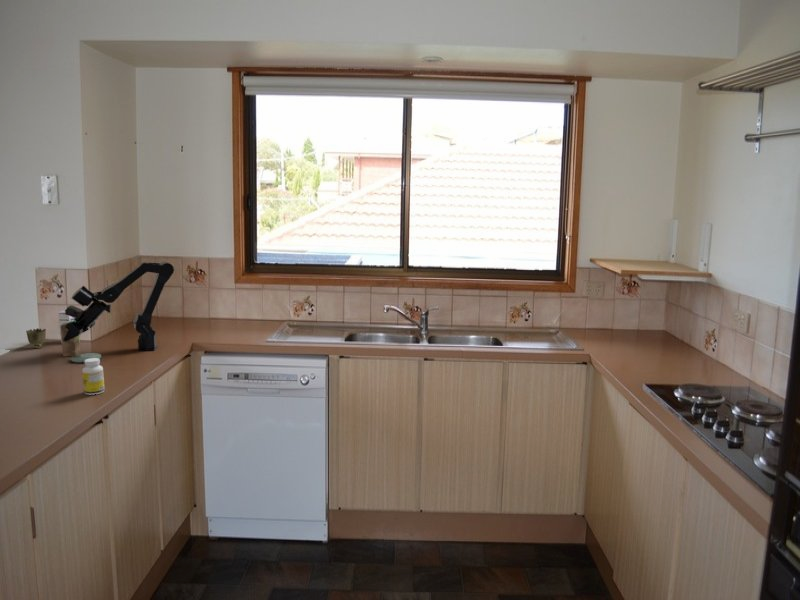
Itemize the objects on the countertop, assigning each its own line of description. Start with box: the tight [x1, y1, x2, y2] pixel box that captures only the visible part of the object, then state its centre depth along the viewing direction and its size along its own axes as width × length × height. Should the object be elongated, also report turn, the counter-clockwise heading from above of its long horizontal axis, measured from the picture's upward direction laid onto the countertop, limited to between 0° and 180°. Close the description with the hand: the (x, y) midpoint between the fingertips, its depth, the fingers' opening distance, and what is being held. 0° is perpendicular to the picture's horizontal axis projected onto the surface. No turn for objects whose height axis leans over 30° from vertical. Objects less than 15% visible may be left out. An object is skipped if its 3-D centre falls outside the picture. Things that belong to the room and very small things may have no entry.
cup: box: [25, 327, 47, 349], centre depth 288 cm, size 8×7×8 cm
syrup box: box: [57, 309, 81, 344], centre depth 298 cm, size 6×6×14 cm
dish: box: [70, 352, 102, 364], centre depth 269 cm, size 11×11×1 cm
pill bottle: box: [82, 358, 106, 396], centre depth 227 cm, size 6×6×12 cm
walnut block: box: [59, 323, 81, 357], centre depth 276 cm, size 5×5×13 cm
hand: (66, 339), depth 276 cm, fingers closed on walnut block, 5 cm apart
